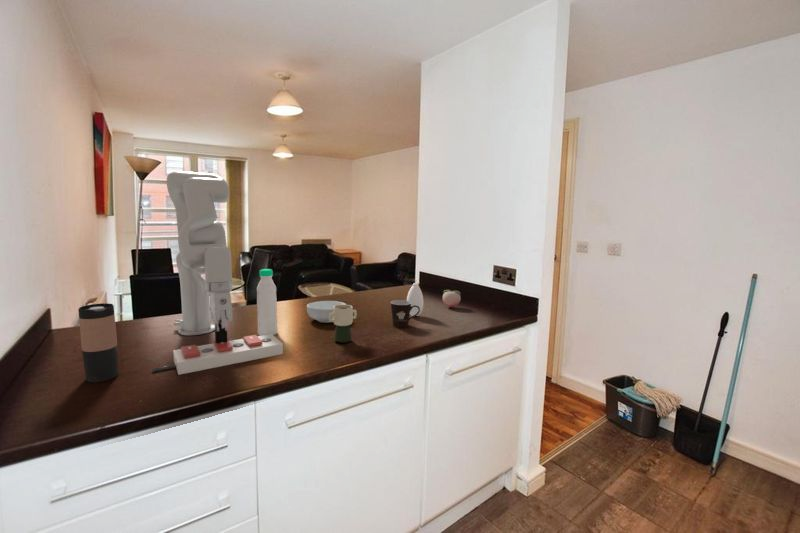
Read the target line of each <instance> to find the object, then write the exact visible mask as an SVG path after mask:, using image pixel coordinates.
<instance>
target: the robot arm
mask: <svg viewBox="0 0 800 533" xmlns="http://www.w3.org/2000/svg"><path fill="white" fill-rule="evenodd" d="M166 188H167V193H168V195H169V197H170V200H171V202H172V204H173V206H174V208H175V215H176V216H175V217H176V225H177V226H176V227H177V234H178V235H177V236H178V237H177V242H178V244H177V246H178V251H179V253H178V252H177V253H178V254H177V255H176V258H175V262H176V267H177V272H178V277H179V283H180V299H181V317H182V319H180V318H179V319H178V318H177V319H176V318H175V320H174V322H173V325H174V326H179V329H178V330H177V332H178V334H179V335H182V336H201V335H205V334H209V333H212V332H214V339H215V340H214V341H215V342H216V343H221V342H227V340H228V329H227V328H228V326H227V325H228V324H227V323H233V321H234V319H233V316H234V315H233V307H232V306H233V304H232V296H231V292H232V291H233V272H232V270H233V269H232V268H233V267H232V251H231V249H230V248H229V247H228V246H227V238H226V236H227V235H226V232H225V228H224V225H223V224H222V222H220V221H218V220H217V218H218V214H217V211H216V205H215V203H216V204H217V203H222V204H223V203H228V201H229V200H230V193H231V192H230V187H229V185H228V182H227V181H226V180H225V179H224V178H223V177H222V176H219V175H218V174H215V173H209V172H207V173H205V172H194V171H186V170H185V171H183V170H182V171H179V170H178V171H172V172H170V173H169V174H168V175H167V177H166ZM201 275H204V277H205V278H203V277H202V276H201ZM211 319H212V320H211ZM212 321H213V322H214V324H213V323H211V322H212Z"/></svg>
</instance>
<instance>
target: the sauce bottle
mask: <svg viewBox="0 0 800 533" xmlns="http://www.w3.org/2000/svg"><path fill="white" fill-rule="evenodd" d="M406 301H409V302H411V307H412V306H414V305H416V306H418V307H419V308H420V312H419V313H418V311H419V309H418V308H417V307H413V308H412V309H411V311H410V317H412V316H414V315H415V314H417V313H418V314H417V315H416V316H417V317H418V316H419V315H420V314H421V313H422V312H423V310H424V296H423V292H422V289H421V287H420V286H419V283H417V278H415V279H414V283H413V284H412V285H411V287H410V288H409V290H408V292H407V296H406Z"/></svg>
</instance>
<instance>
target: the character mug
mask: <svg viewBox="0 0 800 533" xmlns="http://www.w3.org/2000/svg"><path fill="white" fill-rule="evenodd" d="M357 312H358V311H357V310H356V309H354V307H353V305H351V304H346V305H335V306H334V307H333V313H329V323H333V324H334V325H335V326H336V327H335V329H334V330H335V331H334V339H333V340H334V341H336V342H338V343H349V342H350V341H352V339H353V338H352V331H351V327H350V325H352V324H353V323H354V322H353V321H354V320H355V319H357V316H358V313H357ZM332 315H333V319H331V316H332Z"/></svg>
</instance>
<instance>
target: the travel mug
mask: <svg viewBox="0 0 800 533" xmlns="http://www.w3.org/2000/svg"><path fill="white" fill-rule="evenodd" d="M114 305H115V304H113V303H108V302H107V303H92V304H87V305H83V306H80V307H78V309H77V310H78V321H79V329H80V330H79V333H80V343H81V344H80V345H81V354H82V362H83V370H84V375H85V380H87V381H86V382H88V383H101V382H100V381H102V382H105V381H104V380H106V381H109V380H108V379H110V380H112V379H114V377H115V378H116V377H117V376H118V375H119V373H120V372H119V350H118V339H117V335H118V334H117V327H116V326H117V325H116V316H115V307H114ZM111 378H112V379H111Z"/></svg>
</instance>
